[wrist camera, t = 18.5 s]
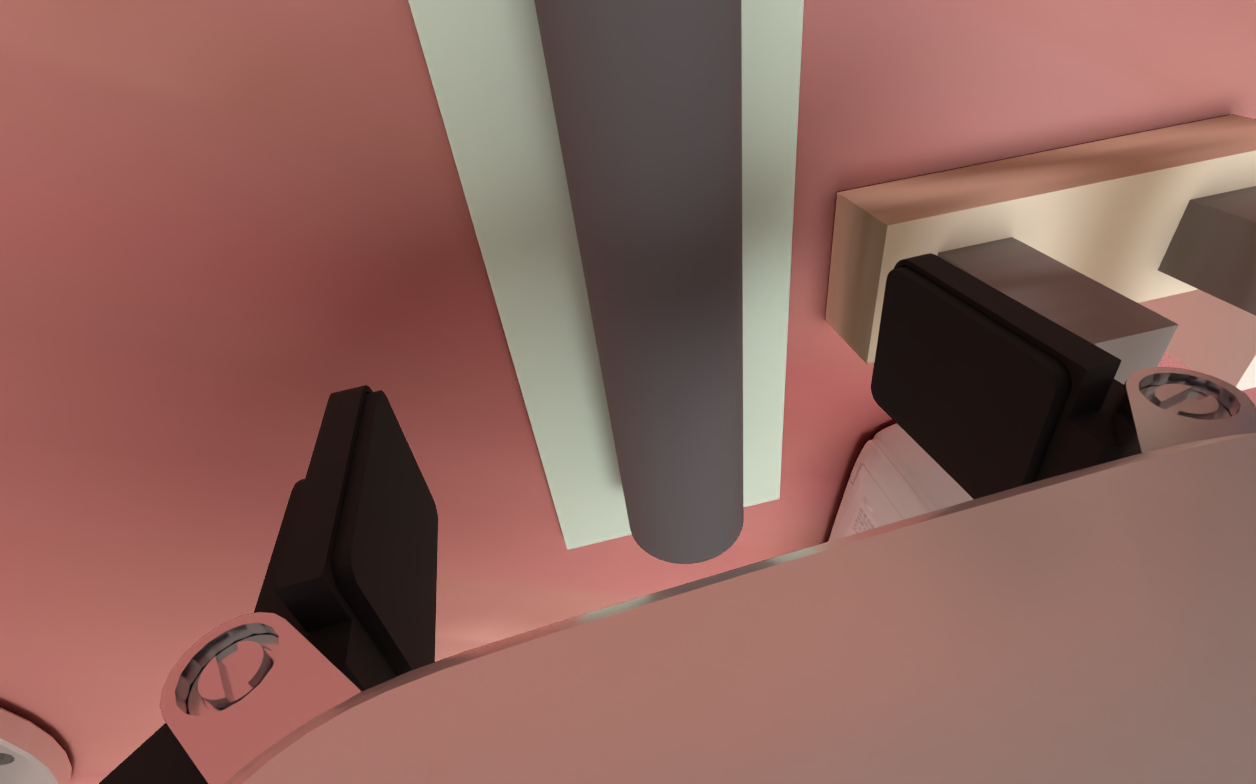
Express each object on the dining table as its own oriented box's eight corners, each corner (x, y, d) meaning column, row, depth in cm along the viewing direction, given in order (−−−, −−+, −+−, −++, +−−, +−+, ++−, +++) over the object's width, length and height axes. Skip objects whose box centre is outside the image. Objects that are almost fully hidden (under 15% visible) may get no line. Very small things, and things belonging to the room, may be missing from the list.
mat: (565, 536, 22) (567, 549, 21) (285, -442, 9) (272, -467, 8) (773, 487, 23) (779, 498, 22) (810, -491, 9) (828, -516, 9)
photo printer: (887, 579, 28) (1105, 911, 18) (803, 594, 27) (982, 948, 18) (961, 407, 22) (1344, 764, 12) (855, 420, 21) (1171, 812, 12)
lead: (708, 461, 21) (766, 535, 18) (612, 498, 20) (657, 582, 17) (672, -239, 10) (793, -317, 8) (469, -223, 10) (523, -304, 7)
